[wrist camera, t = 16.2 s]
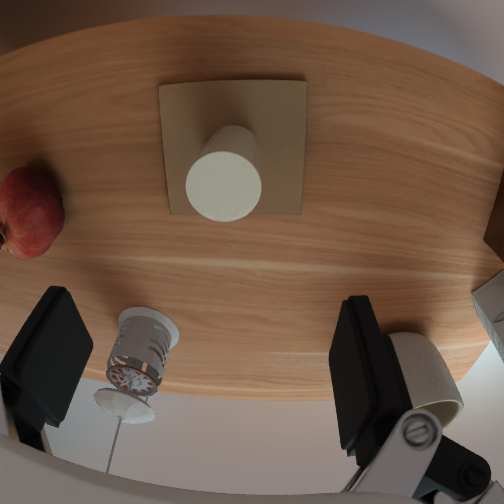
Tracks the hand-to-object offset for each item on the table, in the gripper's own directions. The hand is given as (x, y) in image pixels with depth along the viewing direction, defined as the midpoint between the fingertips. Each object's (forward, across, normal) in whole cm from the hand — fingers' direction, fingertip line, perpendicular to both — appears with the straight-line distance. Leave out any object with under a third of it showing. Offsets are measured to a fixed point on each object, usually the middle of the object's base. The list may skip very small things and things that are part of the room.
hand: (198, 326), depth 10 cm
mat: (+24, +1, 0) cm, 24 cm away
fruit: (+23, +25, +4) cm, 34 cm away
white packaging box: (+24, -40, +20) cm, 51 cm away
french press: (+23, +15, +28) cm, 39 cm away
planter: (+24, -23, +32) cm, 46 cm away
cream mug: (+23, +1, +1) cm, 23 cm away
